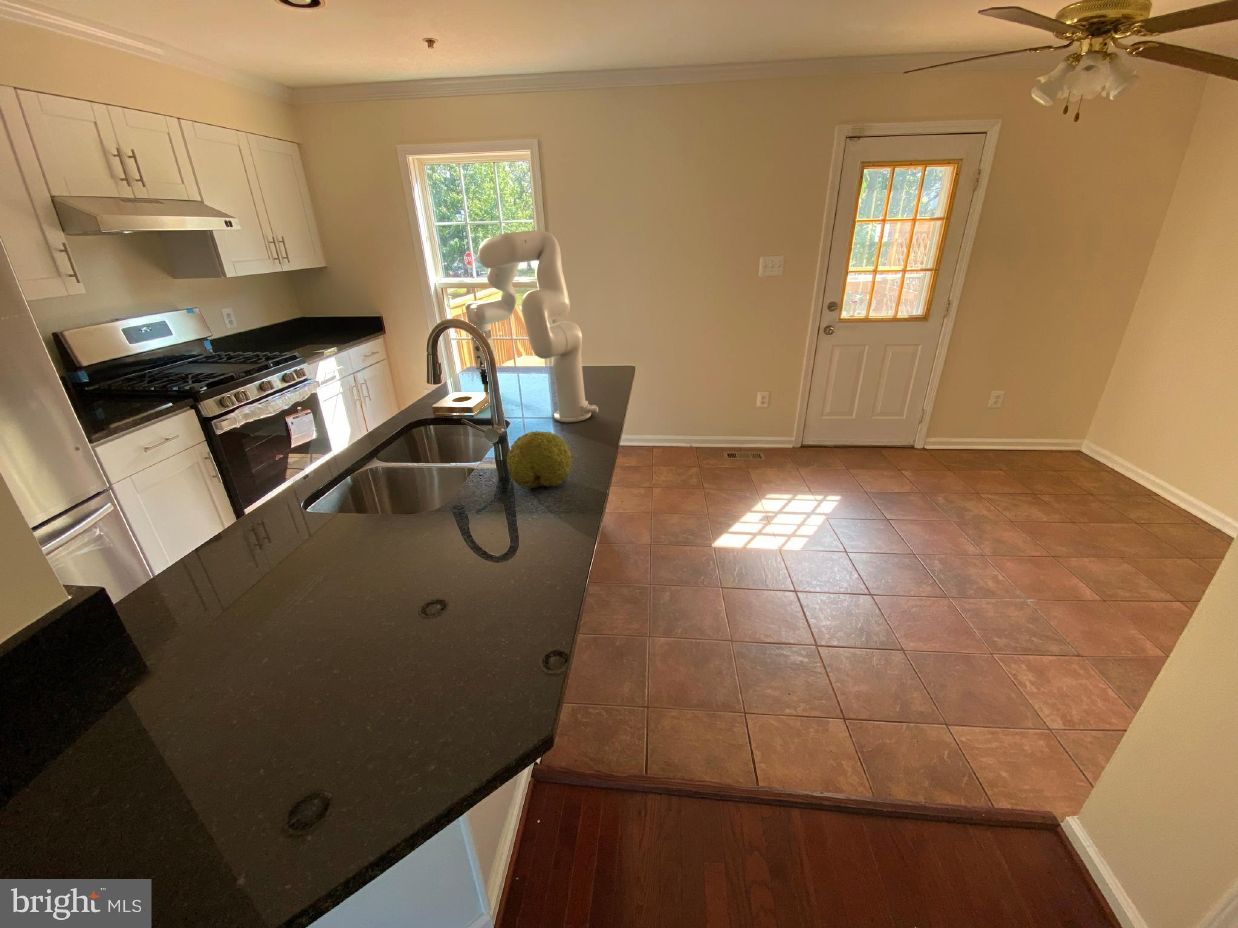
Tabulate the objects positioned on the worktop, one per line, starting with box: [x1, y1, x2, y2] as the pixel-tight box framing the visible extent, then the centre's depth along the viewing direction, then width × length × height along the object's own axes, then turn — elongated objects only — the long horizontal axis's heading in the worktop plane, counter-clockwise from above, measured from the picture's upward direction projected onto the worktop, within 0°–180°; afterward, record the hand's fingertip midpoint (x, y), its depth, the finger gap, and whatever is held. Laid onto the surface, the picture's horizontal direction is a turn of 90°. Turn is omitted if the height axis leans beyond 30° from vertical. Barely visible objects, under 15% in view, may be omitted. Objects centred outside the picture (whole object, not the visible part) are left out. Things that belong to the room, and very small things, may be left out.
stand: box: [431, 391, 491, 418], centre depth 184 cm, size 16×16×4 cm
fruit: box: [505, 430, 573, 489], centre depth 125 cm, size 16×14×15 cm
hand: (489, 381), depth 196 cm, fingers closed on cork, 5 cm apart
